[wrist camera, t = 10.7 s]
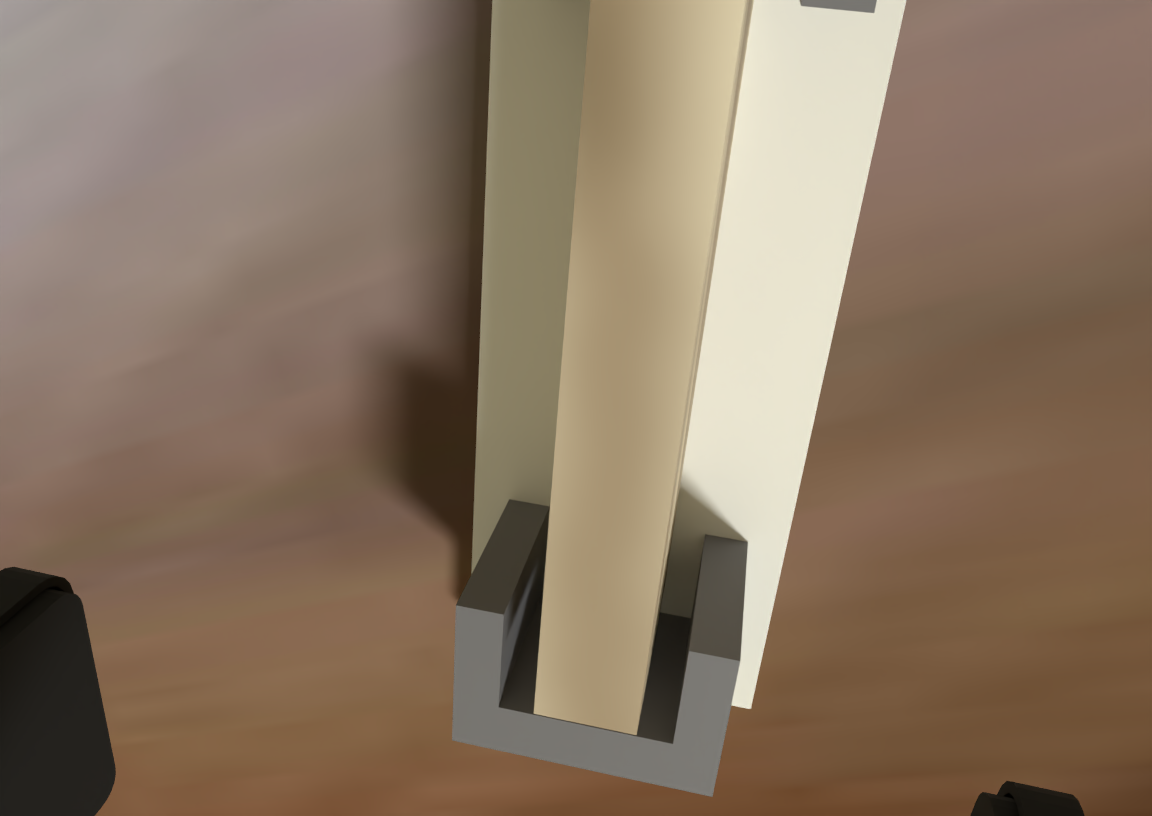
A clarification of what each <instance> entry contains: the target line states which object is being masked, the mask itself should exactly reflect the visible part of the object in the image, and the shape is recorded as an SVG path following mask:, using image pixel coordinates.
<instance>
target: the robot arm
mask: <svg viewBox="0 0 1152 816" xmlns="http://www.w3.org/2000/svg"><path fill="white" fill-rule="evenodd" d="M115 775H116V771H115V763H114V758H113V753H112V748H111V743H110V738H109V733H108V728H107V723H106V718H105V713H104V708H103V703H102V698H101V693H100V688H99V683H98V678H97V673H96V668H95V663H94V658H93V653H92V648H91V643H90V638H89V633H88V628H87V623H86V619H85V614H84V609H83V604H82V602H81V599H80V598H79V597H78V596H77V595H76V594H74V593H73V590H72V587H71V585H70V583H69V582H68V581H67V580H66V579H65V578H62V577H58V576H54V575H49V574H44V573H40V572H35V571H31V570H26V569H21V568H17V567H10V568H5V569H3V570H1V571H0V816H95V814H96V813H97V812H98V811H99V810H100V808H101V807H102V806H103V804H104V803H105V801H106V800H107V798H108V796H109V794H110V792H111V790H112V787H113V784H114V781H115ZM971 816H1084V813H1083V810H1082V808H1081V806H1080V803H1079V801H1078V800H1077V799H1076V798H1075V797H1074V796H1073V795H1071V794H1067V793H1062V792H1057V791H1053V790H1048V789H1043V788H1039V787H1034V786H1029V785H1025V784H1020V783H1015V782H1010V781H1007V782H1005V783H1004V784H1003V785H1002V786H1001V788H1000V790H999V792H998V794H997V795H994V794H990V793H985V792H982V793H981V794H980V795H979V797H978V799H977V801H976V803H975V806H974V808H973V811H972V813H971Z"/></svg>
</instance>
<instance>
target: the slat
mask: <svg viewBox="0 0 1152 816" xmlns="http://www.w3.org/2000/svg"><path fill="white" fill-rule="evenodd" d="M753 3H754V0H591V1H590V13H589V26H588V38H587V51H586V63H585V76H584V88H583V101H582V113H581V126H580V139H579V151H578V164H577V176H576V189H575V201H574V214H573V226H572V239H571V251H570V264H569V276H568V289H567V302H566V314H565V327H564V339H563V352H562V364H561V377H560V389H559V402H558V414H557V427H556V439H555V452H554V465H553V477H552V490H551V502H550V515H549V527H548V540H547V552H546V565H545V577H544V590H543V603H542V615H541V628H540V640H539V653H538V665H537V678H536V690H535V703H534V714H538V715H542V716H547V717H552V718H557V719H561V720H566V721H571V722H576V723H580V724H585V725H590V726H595V727H599V728H604V729H609V730H614V731H618V732H623V733H628V734H633V735H637V730H638V725H639V720H640V714H641V709H642V704H643V698H644V693H645V688H646V683H647V677H648V672H649V667H650V662H651V656H652V651H653V646H654V640H655V635H656V630H657V625H658V619H659V614H660V609H661V604H662V598H663V593H664V588H665V582H666V576H667V569H668V562H669V556H670V549H671V543H672V536H673V529H674V523H675V516H676V510H677V503H678V497H679V490H680V483H681V477H682V470H683V464H684V457H685V451H686V444H687V437H688V431H689V424H690V418H691V411H692V405H693V398H694V391H695V385H696V378H697V372H698V365H699V358H700V352H701V345H702V339H703V332H704V326H705V319H706V312H707V306H708V299H709V293H710V286H711V280H712V273H713V266H714V260H715V253H716V247H717V240H718V234H719V227H720V220H721V214H722V207H723V201H724V194H725V187H726V181H727V174H728V168H729V161H730V155H731V148H732V141H733V135H734V128H735V122H736V115H737V109H738V102H739V95H740V89H741V82H742V76H743V69H744V63H745V56H746V49H747V43H748V36H749V30H750V23H751V16H752V10H753Z"/></svg>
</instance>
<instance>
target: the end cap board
mask: <svg viewBox="0 0 1152 816" xmlns="http://www.w3.org/2000/svg"><path fill="white" fill-rule="evenodd" d="M590 1H591V0H492V23H491V51H490V78H489V106H488V133H487V160H486V188H485V215H484V243H483V270H482V297H481V325H480V352H479V380H478V407H477V434H476V462H475V489H474V517H473V544H472V571H471V576H470V578H469V580H468V582H467V584H466V586H465V588H464V590H463V592H462V594H461V596H460V598H459V600H458V602H457V604H456V624H455V660H454V696H453V732H452V740H453V741H458V742H462V743H467V744H472V745H476V746H481V747H485V748H490V749H495V750H499V751H504V752H508V753H513V754H518V755H522V756H527V757H532V758H536V759H541V760H545V761H550V762H555V763H559V764H564V765H568V766H573V767H578V768H582V769H587V770H591V771H596V772H601V773H605V774H610V775H614V776H619V777H624V778H628V779H633V780H637V781H642V782H647V783H651V784H656V785H660V786H665V787H670V788H674V789H679V790H683V791H688V792H693V793H697V794H702V795H706V796H711V797H712V796H713V791H714V786H715V781H716V777H717V772H718V767H719V762H720V757H721V752H722V747H723V743H724V738H725V733H726V728H727V723H728V718H729V714H730V709H731V705H733V706H738V707H743V708H748V709H751V705H752V700H753V696H754V691H755V687H756V682H757V678H758V673H759V669H760V664H761V659H762V655H763V650H764V646H765V641H766V637H767V632H768V628H769V623H770V619H771V614H772V609H773V605H774V600H775V596H776V591H777V587H778V582H779V578H780V573H781V568H782V564H783V559H784V555H785V550H786V546H787V541H788V537H789V532H790V527H791V523H792V518H793V514H794V509H795V505H796V500H797V496H798V491H799V486H800V482H801V477H802V473H803V468H804V464H805V459H806V455H807V450H808V445H809V441H810V436H811V432H812V427H813V423H814V418H815V414H816V409H817V404H818V400H819V395H820V391H821V386H822V382H823V377H824V373H825V368H826V364H827V359H828V354H829V350H830V345H831V341H832V336H833V332H834V327H835V323H836V318H837V313H838V309H839V304H840V300H841V295H842V291H843V286H844V282H845V277H846V272H847V268H848V263H849V259H850V254H851V250H852V245H853V241H854V236H855V231H856V227H857V222H858V218H859V213H860V209H861V204H862V200H863V195H864V190H865V186H866V181H867V177H868V172H869V168H870V163H871V159H872V154H873V150H874V145H875V140H876V136H877V131H878V127H879V122H880V118H881V113H882V109H883V104H884V99H885V95H886V90H887V86H888V81H889V77H890V72H891V68H892V63H893V58H894V54H895V49H896V45H897V40H898V36H899V31H900V27H901V22H902V17H903V13H904V8H905V4H906V0H754V3H753V10H752V16H751V23H750V30H749V36H748V43H747V49H746V56H745V63H744V69H743V76H742V82H741V89H740V95H739V102H738V109H737V115H736V122H735V128H734V135H733V141H732V148H731V155H730V161H729V168H728V174H727V181H726V187H725V194H724V201H723V207H722V214H721V220H720V227H719V234H718V240H717V247H716V253H715V260H714V266H713V273H712V280H711V286H710V293H709V299H708V306H707V312H706V319H705V326H704V332H703V339H702V345H701V352H700V358H699V365H698V372H697V378H696V385H695V391H694V398H693V405H692V411H691V418H690V424H689V431H688V437H687V444H686V451H685V457H684V464H683V470H682V477H681V483H680V490H679V497H678V503H677V510H676V516H675V523H674V529H673V536H672V543H671V549H670V556H669V562H668V569H667V576H666V582H665V588H664V593H663V598H662V604H661V609H660V614H659V619H658V625H657V630H656V635H655V640H654V646H653V651H652V656H651V662H650V667H649V672H648V677H647V683H646V688H645V693H644V698H643V704H642V709H641V714H640V720H639V725H638V730H637V735H633V734H628V733H623V732H618V731H614V730H609V729H604V728H599V727H595V726H590V725H585V724H580V723H576V722H571V721H566V720H561V719H557V718H552V717H547V716H542V715H538V714H534V703H535V690H536V678H537V665H538V653H539V640H540V628H541V615H542V603H543V590H544V577H545V565H546V552H547V540H548V527H549V515H550V502H551V490H552V477H553V465H554V452H555V439H556V427H557V414H558V402H559V389H560V377H561V364H562V352H563V339H564V327H565V314H566V302H567V289H568V276H569V264H570V251H571V239H572V226H573V214H574V201H575V189H576V176H577V164H578V151H579V139H580V126H581V113H582V101H583V88H584V76H585V63H586V51H587V38H588V26H589V13H590Z"/></svg>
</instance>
